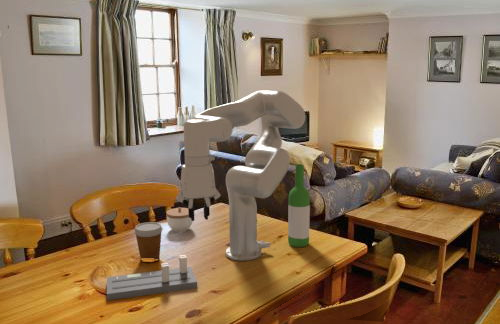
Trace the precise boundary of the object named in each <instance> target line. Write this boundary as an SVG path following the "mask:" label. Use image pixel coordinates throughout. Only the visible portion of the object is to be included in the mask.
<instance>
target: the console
mask: <svg viewBox="0 0 500 324" xmlns="http://www.w3.org/2000/svg"><path fill="white" fill-rule="evenodd" d="M192 289H198V281H197V278H196V276H195V272H194V270H193V268H192V266H187V273H180V267H179V268H171V269H170V268H169V282H163V281H162V271H161V270H156V271H155V270H153V271H147V272H146V271H145V272H140V273H139V272H138V273H131V274H124V275H116V276H107V277H106V300H107V301H112V300H113V301H114V300H120V299H127V298H134V297H141V296H148V295H149V296H151V295H156V294H162V293H170V292H178V291H184V290H192Z"/></svg>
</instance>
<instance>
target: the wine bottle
mask: <svg viewBox="0 0 500 324" xmlns="http://www.w3.org/2000/svg"><path fill="white" fill-rule="evenodd" d="M304 167H305V165H304V164H295V174H294V175H295V177H294V182H295V183H294V187H293V188H292V189H290V191H289V194H288V210H287V211H288V214H287V215H288V217H287V218H288V222H287V240H288V244H289V245H290V246H292V247H295V248H303V247H306V246H308V245H309V242H310V221H311V220H310V217H311V216H310V215H311V205H310V203H311V196H310V192H309V191H308V189H307V188H306V187H305V186H304V185H305V183H304V180H305V179H304V177H305V175H304V174H305V170H304V169H305V168H304Z"/></svg>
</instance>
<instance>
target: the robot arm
mask: <svg viewBox="0 0 500 324" xmlns="http://www.w3.org/2000/svg"><path fill="white" fill-rule="evenodd" d="M259 118H260V119H261V133H260V136H259V137H258V139H257V140H256V142H255V143H253V145H252V147H251V148H250V149H249V151H248V152H247V153H246V156H245V159H244V164H245V165H236V166H233V167H231V168H229V169H228V171H227V173H226V174H225V187H226V190H227V194H228V207H229V208H228V210H229V211H228V215H229V216H228V218H229V223H228V224H229V246H228V247H227V248H226V249H225V256H226V257H227V258H228V259H231V260H232V261H240V262H244V261H246V262H247V261H252V260H255V259H258V258H260V256H261V255H262V249H263V248H264V249H265V248H267V249H268V248H271V242H270V241H268V242H267V241H266V242H265V240H259V241H258V226H257V224H258V222H257V221H258V219H257V218H258V217H257V216H258V213H257V212H258V210H257V209H258V207H257V202H256V198H258V199H266V198H269V197H270V196H271V195H273V193H274V192H275V190H276V189H277V187H278V186H279V185H280V183H281V182H282V181H283V179H284V177H285V176H286V174H287V172H288V170H289V167H290V164H291V159H290V154H289V152H288V151H287V150H286V149H284V148H283V147H282V145H283V140H282V136H281V133H280V130H279V128H280V129H281V128H282V129H293V130H295V129H300V128H302V127H303V125H304V123H305V122H306V112H305V109H304V108H303V106H302V105H300V103H299V102H297V101H296V100H295V99H294V98H293V97H292V96H290V95H289V94H287V93H286V92H284V91H282V90H269V89H268V90H267V89H263V90H262V89H260V90H257V91H255V92H252V93H250V94H249V95H246V96H244V97H242V98H241V99H238V100H236V101H235V102H234V101H233V102H229V103H225V104H222V105H219V106H214V107H211V108H208V109H206V110H203V111H202V112H200V113H198V114H196V115H194V116H193V117H192V118H191V119H187V120H185V121H184V123H183V142H184V145H183V147H184V148H183V149H184V164H182V165H181V166H182V167H181V174H180V189H179V192H178V193H177V195H176V197H175V200H176V201H177V202H180V203H182V204H183V205H185V206H186V208H188V211H189V218H191V220H192V222H194V221H195V208H194V205H193V204H194V200H195V199H204V205H203V217H204V219H205V220H208V219H209V217H210V208H211V205H212V204H213V203H214V202H215V201H216V200H217V199H219V198H220V197H221V193H220V192H219V190H218V189H217V188H216V180H215V173H214V172H215V171H214V167H213V164H212V162H213V161H215V157H216V156H214V155H211V151H210V149H211V148H210V143H221V142H225V141H227V140H229V139H230V137H231V136H232V134H233V130H234V128H240V127H244V126H248V125H250V124H251V123H253V122H255V121H256V120H259ZM281 147H282V148H281Z"/></svg>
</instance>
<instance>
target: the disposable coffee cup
mask: <svg viewBox="0 0 500 324" xmlns="http://www.w3.org/2000/svg"><path fill="white" fill-rule="evenodd" d="M163 230H164V229H163V227H162V225H161V223H159V222H155V221H153V222H152V221H150V222H149V221H148V222H142V223H138V224H137V225H136V226H135V227H134V230H133V232H134V234H135V237H136V242H137V249H138V253H139V258H140V257H141V258H154V259H159V260H160V255H161V254H160V253H161V242H162V241H161V240H162V233H163ZM141 258H140V259H141Z"/></svg>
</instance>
